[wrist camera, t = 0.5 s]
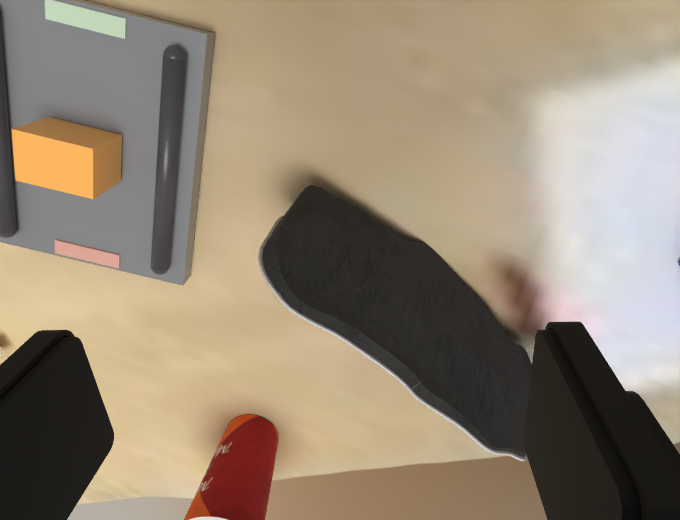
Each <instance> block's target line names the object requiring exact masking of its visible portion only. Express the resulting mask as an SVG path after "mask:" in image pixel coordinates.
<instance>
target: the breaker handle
mask: <svg viewBox="0 0 680 520" xmlns="http://www.w3.org/2000/svg"><path fill="white" fill-rule="evenodd" d="M12 141H13V154H14V167H15V180H16V181H20V182H24V183H28V184H32V185H36V186H40V187H44V188H49V189H53V190H57V191H61V192H65V193H69V194H73V195H77V196H82V197H86V198H90V199H94V198H96V197H97V196H99V195H100V194H102V193H103V192H105V191H107V190H108V189H110V188H111V187H113V186H114V185H116V184H117V183H119V182H120V181H121V154H122V135H120V134H116V133H112V132H108V131H104V130H100V129H96V128H92V127H87V126H83V125H79V124H75V123H71V122H67V121H63V120H59V119H55V118H51V117H47V118H44V119H41V120H38V121H35V122H32V123H29V124H25V125H22V126H19V127H16V128H13V129H12Z"/></svg>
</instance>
